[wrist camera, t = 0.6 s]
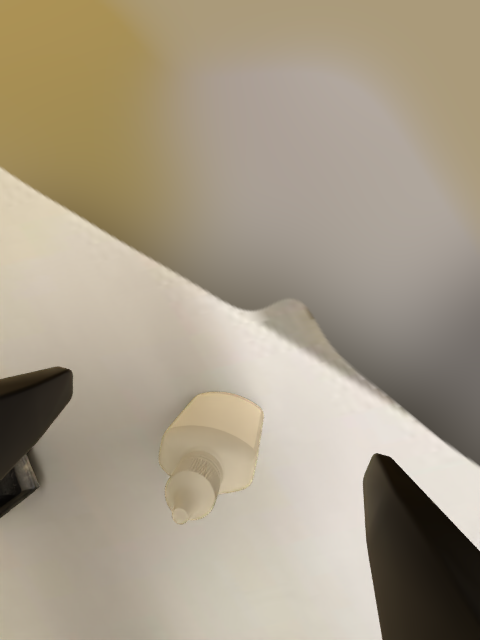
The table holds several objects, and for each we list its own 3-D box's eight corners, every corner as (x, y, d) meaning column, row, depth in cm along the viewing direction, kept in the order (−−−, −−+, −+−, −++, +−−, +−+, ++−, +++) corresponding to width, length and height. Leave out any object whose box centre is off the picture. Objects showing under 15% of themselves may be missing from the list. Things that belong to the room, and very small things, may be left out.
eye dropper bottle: (217, 369, 25) (161, 433, 13) (273, 416, 25) (265, 526, 13) (183, 410, 26) (99, 506, 14) (237, 456, 25) (198, 597, 13)
